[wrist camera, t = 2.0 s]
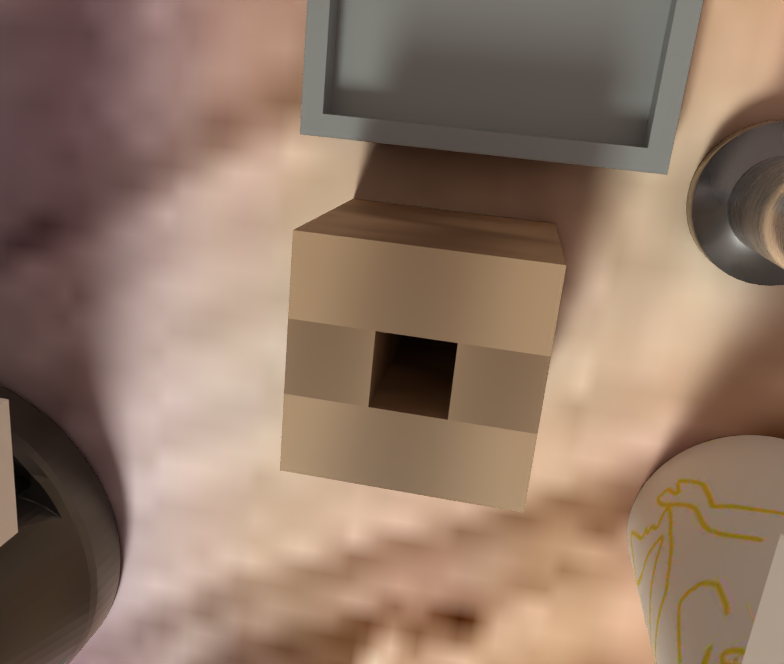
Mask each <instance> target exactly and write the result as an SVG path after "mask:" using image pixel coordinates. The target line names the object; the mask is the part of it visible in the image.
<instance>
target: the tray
mask: <svg viewBox="0 0 784 664" xmlns="http://www.w3.org/2000/svg"><path fill="white" fill-rule="evenodd" d="M702 5H703V0H308V1H307V19H306V37H305V55H304V73H303V91H302V109H301V127H300V134H302V135H311V136H320V137H329V138H339V139H348V140H357V141H366V142H375V143H384V144H393V145H402V146H411V147H420V148H429V149H439V150H448V151H457V152H466V153H475V154H484V155H493V156H502V157H511V158H520V159H530V160H539V161H548V162H557V163H566V164H575V165H584V166H593V167H602V168H611V169H620V170H630V171H639V172H648V173H657V174H666V175H667V173H668V168H669V163H670V158H671V153H672V149H673V144H674V139H675V134H676V129H677V125H678V120H679V115H680V110H681V105H682V101H683V96H684V91H685V86H686V81H687V77H688V72H689V67H690V62H691V57H692V53H693V48H694V43H695V38H696V33H697V29H698V24H699V19H700V14H701V9H702Z"/></svg>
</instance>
